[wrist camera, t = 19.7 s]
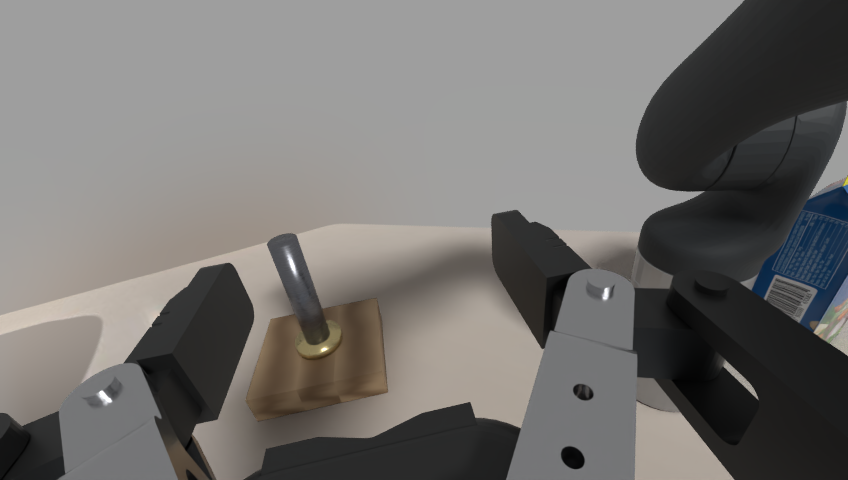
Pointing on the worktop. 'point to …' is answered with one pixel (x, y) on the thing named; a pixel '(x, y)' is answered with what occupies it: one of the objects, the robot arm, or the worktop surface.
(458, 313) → the worktop surface
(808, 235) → the blue food package
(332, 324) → the steel pin
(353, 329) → the wooden base block
